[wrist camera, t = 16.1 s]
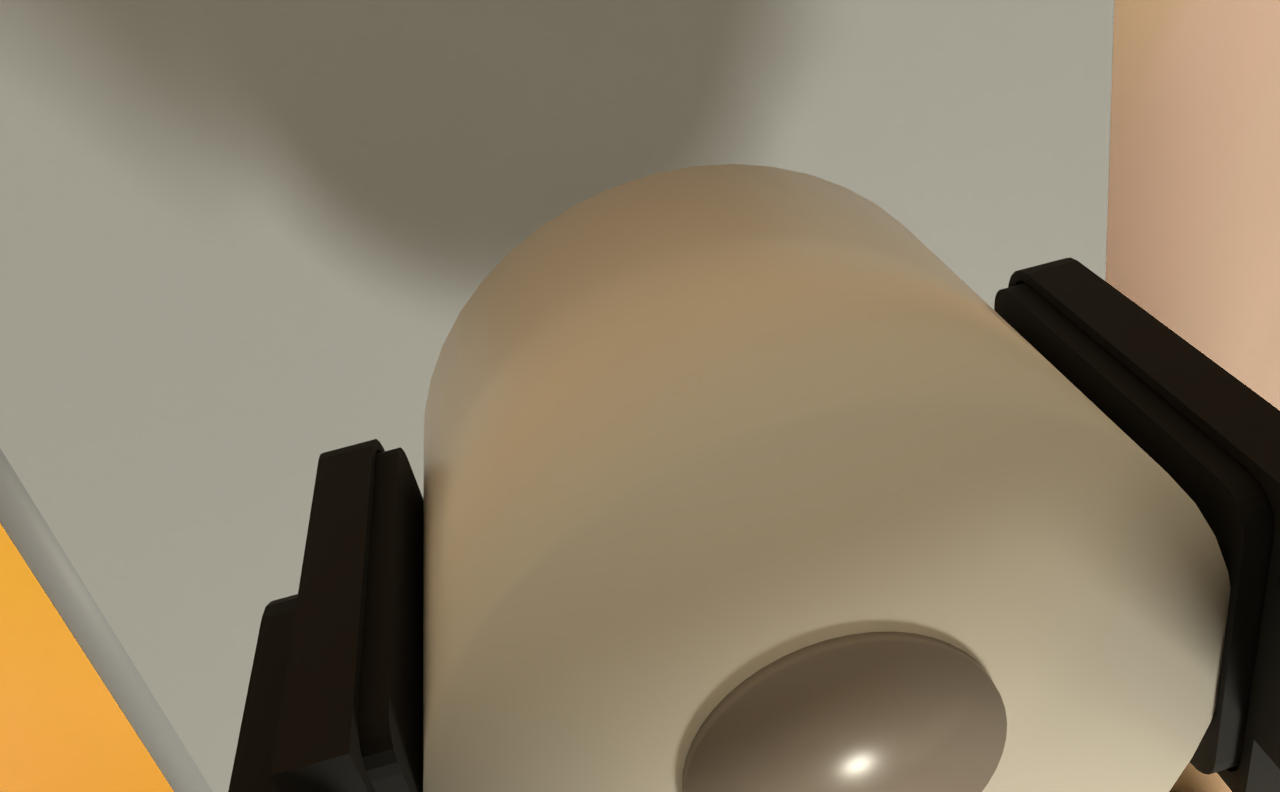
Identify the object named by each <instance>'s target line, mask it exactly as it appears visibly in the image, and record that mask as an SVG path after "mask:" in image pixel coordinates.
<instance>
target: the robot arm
mask: <svg viewBox="0 0 1280 792" xmlns="http://www.w3.org/2000/svg"><path fill="white" fill-rule="evenodd" d="M994 311H996V312H997V313H998V314H999V315H1000V316H1001V317H1002V318H1003V319H1004V320H1005V321H1006V322H1007V323H1008V324H1009V325H1010V326H1011V327H1013V328H1014V329H1015V330H1016V331H1017V332H1018V333H1019V334H1020V335H1021V336H1022V337H1023V338H1024V339H1025V340H1026V341H1027V342H1029V343H1030V344H1031V345H1032V346H1033V347H1034V348H1035V349H1036V350H1037V351H1038V352H1039V353H1040V354H1041V355H1042V356H1043V357H1044V358H1046V359H1047V360H1048V361H1049V362H1050V363H1051V364H1052V365H1053V366H1054V367H1055V368H1056V369H1057V370H1058V371H1059V372H1060V373H1062V374H1063V375H1064V376H1065V377H1066V378H1067V379H1068V380H1069V381H1070V382H1071V383H1072V384H1073V385H1074V386H1075V387H1076V388H1078V389H1079V390H1080V391H1081V392H1082V393H1083V394H1084V395H1085V396H1086V397H1087V398H1088V399H1089V400H1090V401H1091V402H1092V403H1093V404H1095V405H1096V406H1097V407H1098V408H1099V409H1100V410H1101V411H1102V412H1103V413H1104V414H1105V415H1106V416H1107V417H1108V418H1109V419H1111V420H1112V421H1113V422H1114V423H1115V424H1116V425H1117V426H1118V427H1119V428H1120V429H1121V430H1122V431H1123V432H1124V433H1125V434H1127V435H1128V436H1129V437H1130V438H1131V439H1132V440H1133V441H1134V442H1135V443H1136V444H1137V445H1138V446H1139V447H1140V448H1141V449H1142V450H1144V451H1145V452H1146V453H1147V454H1148V455H1149V456H1150V457H1151V458H1152V459H1153V460H1154V461H1155V462H1156V463H1157V464H1158V465H1160V466H1161V467H1162V468H1163V469H1164V470H1165V471H1166V472H1167V473H1168V474H1169V475H1170V476H1171V477H1172V478H1173V480H1174V481H1175V482H1176V483H1177V484H1178V485H1179V486H1180V487H1181V488H1182V489H1183V490H1184V491H1185V492H1186V494H1187V495H1188V496H1189V497H1190V498H1191V499H1192V500H1193V501H1194V502H1195V503H1196V505H1197V507H1198V508H1199V510H1200V512H1201V513H1202V515H1203V517H1204V518H1205V520H1206V522H1207V523H1208V525H1209V526H1210V528H1211V530H1212V531H1213V533H1214V535H1215V536H1216V539H1217V542H1218V545H1219V547H1220V550H1221V553H1222V556H1223V559H1224V562H1225V564H1226V567H1227V570H1228V573H1229V580H1230V587H1231V590H1230V598H1229V606H1228V614H1227V622H1226V630H1225V638H1224V646H1223V654H1222V662H1221V670H1220V678H1219V686H1218V694H1217V702H1216V709H1215V712H1214V715H1213V717H1212V720H1211V723H1210V724H1209V726H1208V728H1207V730H1206V732H1205V734H1204V736H1203V738H1202V740H1201V742H1200V744H1199V746H1198V748H1197V749H1196V751H1195V753H1194V755H1193V757H1192V759H1191V760H1190V762H1191V763H1192V765H1193V766H1194V767H1195V768H1196V769H1198V770H1199V771H1200V772H1202V773H1204V774H1212V773H1215V772H1217V773H1218V774H1219V775H1220V777H1221V778H1222V779H1223V780H1224V782H1225V783H1226V784H1227V785H1228V787H1229V788H1230V789H1231V791H1232V792H1280V411H1279V410H1278V409H1277V408H1275V407H1274V406H1272V405H1271V404H1270V403H1268V402H1267V401H1266V400H1264V399H1263V398H1262V397H1260V396H1259V395H1258V394H1256V393H1255V392H1254V391H1252V390H1251V389H1250V388H1248V387H1247V386H1246V385H1244V384H1243V383H1242V382H1240V381H1239V380H1237V379H1236V378H1235V377H1233V376H1232V375H1231V374H1229V373H1228V372H1227V371H1225V370H1224V369H1223V368H1221V367H1220V366H1219V365H1217V364H1216V363H1215V362H1213V361H1212V360H1211V359H1209V358H1208V357H1207V356H1205V355H1204V354H1203V353H1201V352H1200V351H1198V350H1197V349H1196V348H1194V347H1193V346H1192V345H1190V344H1189V343H1188V342H1186V341H1185V340H1184V339H1182V338H1181V337H1180V336H1178V335H1177V334H1176V333H1174V332H1173V331H1172V330H1170V329H1169V328H1168V327H1166V326H1165V325H1163V324H1162V323H1161V322H1159V321H1158V320H1157V319H1155V318H1154V317H1153V316H1151V315H1150V314H1149V313H1147V312H1146V311H1145V310H1143V309H1142V308H1141V307H1139V306H1138V305H1137V304H1135V303H1134V302H1133V301H1131V300H1130V299H1129V298H1127V297H1126V296H1124V295H1123V294H1122V293H1120V292H1119V291H1118V290H1116V289H1115V288H1114V287H1112V286H1111V285H1110V284H1108V283H1107V282H1106V281H1104V280H1103V279H1102V278H1100V277H1099V276H1098V275H1096V274H1095V273H1094V272H1092V271H1091V270H1089V269H1088V268H1087V267H1085V266H1084V265H1083V264H1081V263H1080V262H1079V261H1077V260H1075V259H1073V258H1071V257H1070V258H1064V259H1060V260H1056V261H1053V262H1049V263H1045V264H1041V265H1037V266H1033V267H1030V268H1026V269H1022V270H1018V271H1015V272H1014V273H1013V274H1012V275H1011V278H1010V281H1009V284H1008V288H1005V289H1001V290H999V291H998V292H997V293H996V297H995V303H994ZM228 792H423V497H422V495H421V492H420V489H419V487H418V484H417V481H416V479H415V476H414V474H413V471H412V468H411V466H410V463H409V461H408V458H407V456H406V454H405V452H404V450H403V449H402V448H401V447H400V448H396V449H392V450H388V451H385V450H384V448H383V446H382V445H381V443H380V441H378V440H377V439H374V440H370V441H366V442H362V443H358V444H354V445H351V446H347V447H343V448H339V449H335V450H332V451H328V452H324V453H322V454H320V457H319V460H318V466H317V473H316V479H315V486H314V493H313V499H312V506H311V512H310V519H309V525H308V532H307V538H306V545H305V551H304V558H303V564H302V571H301V577H300V584H299V590H298V594H296V595H292V596H289V597H285V598H281V599H277V600H274V601H271V602H270V603H269V604H268V605H267V606H266V607H265V610H264V613H263V616H262V619H261V624H260V629H259V634H258V640H257V645H256V650H255V655H254V660H253V666H252V671H251V676H250V681H249V686H248V692H247V697H246V702H245V707H244V712H243V718H242V723H241V728H240V733H239V738H238V744H237V749H236V754H235V759H234V764H233V770H232V775H231V780H230V785H229V790H228Z"/></svg>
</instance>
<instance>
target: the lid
mask: <svg viewBox="0 0 1280 792" xmlns="http://www.w3.org/2000/svg"><path fill="white" fill-rule="evenodd" d="M1113 24H1114V0H0V523H1V525H2V526H3V528H4V529H5V531H6V532H7V534H8V536H9V537H10V539H11V540H12V542H13V543H14V545H15V546H16V548H17V549H18V551H19V553H20V554H21V556H22V557H23V559H24V560H25V562H26V563H27V565H28V566H29V568H30V570H31V571H32V573H33V574H34V576H35V577H36V579H37V580H38V582H39V583H40V585H41V587H42V588H43V590H44V591H45V593H46V594H47V596H48V597H49V599H50V600H51V602H52V604H53V605H54V607H55V608H56V610H57V611H58V613H59V614H60V616H61V617H62V619H63V621H64V622H65V624H66V625H67V627H68V628H69V630H70V631H71V633H72V634H73V636H74V638H75V639H76V641H77V642H78V644H79V645H80V647H81V648H82V650H83V651H84V653H85V655H86V656H87V658H88V659H89V661H90V662H91V664H92V665H93V667H94V668H95V670H96V672H97V673H98V675H99V676H100V678H101V679H102V681H103V682H104V684H105V685H106V687H107V689H108V690H109V692H110V693H111V695H112V696H113V698H114V699H115V701H116V702H117V704H118V706H119V707H120V709H121V710H122V712H123V713H124V715H125V716H126V718H127V719H128V721H129V723H130V724H131V726H132V727H133V729H134V730H135V732H136V733H137V735H138V736H139V738H140V740H141V741H142V743H143V744H144V746H145V747H146V749H147V750H148V752H149V753H150V755H151V757H152V758H153V760H154V761H155V763H156V764H157V766H158V767H159V769H160V770H161V772H162V774H163V775H164V777H165V778H166V780H167V781H168V783H169V784H170V786H171V787H172V789H173V791H174V792H228V790H229V785H230V780H231V775H232V770H233V764H234V759H235V754H236V749H237V744H238V738H239V733H240V728H241V723H242V718H243V712H244V707H245V702H246V697H247V692H248V686H249V681H250V676H251V671H252V666H253V660H254V655H255V650H256V645H257V640H258V634H259V629H260V624H261V619H262V616H263V613H264V610H265V607H266V606H267V605H268V604H269V603H270V602H271V601H274V600H277V599H281V598H285V597H289V596H292V595H296V594H298V590H299V584H300V577H301V571H302V564H303V558H304V551H305V545H306V538H307V532H308V525H309V519H310V512H311V506H312V499H313V493H314V486H315V479H316V473H317V466H318V460H319V457H320V454H322V453H324V452H328V451H332V450H335V449H339V448H343V447H347V446H351V445H354V444H358V443H362V442H366V441H370V440H374V439H377V440H378V441H380V443H381V445H382V446H383V448H384V450H385V451H388V450H392V449H396V448H400V447H401V448H402V449H403V450H404V452H405V454H406V456H407V458H408V461H409V463H410V466H411V468H412V471H413V474H414V476H415V479H416V481H417V484H418V487H419V489H420V492H421V495H422V497H423V452H424V414H425V408H426V402H427V397H428V392H429V386H430V381H431V377H432V375H433V372H434V369H435V366H436V363H437V360H438V357H439V354H440V352H441V349H442V346H443V344H444V342H445V340H446V338H447V336H448V334H449V332H450V330H451V329H452V327H453V325H454V323H455V321H456V319H457V317H458V315H459V313H460V312H461V310H462V309H463V307H464V306H465V305H466V303H467V302H468V300H469V299H470V298H471V296H472V295H473V293H474V292H475V291H476V289H477V288H478V286H479V285H480V284H481V282H482V281H483V280H484V279H485V278H486V277H487V276H488V275H489V273H490V272H491V271H492V270H493V269H494V268H495V267H496V266H497V265H498V264H499V263H500V262H501V261H502V260H503V258H504V257H505V256H506V255H507V254H508V253H509V252H510V251H512V250H513V249H514V248H515V247H516V246H518V245H519V244H520V243H521V242H523V241H524V240H525V239H526V238H527V237H529V236H530V235H531V234H532V233H533V232H535V231H536V230H537V229H538V228H539V227H541V226H542V225H544V224H546V223H547V222H549V221H550V220H552V219H554V218H555V217H557V216H558V215H560V214H561V213H563V212H565V211H566V210H568V209H569V208H571V207H572V206H574V205H576V204H578V203H580V202H582V201H584V200H587V199H589V198H591V197H593V196H595V195H597V194H599V193H601V192H604V191H606V190H608V189H610V188H612V187H615V186H618V185H621V184H624V183H627V182H630V181H633V180H636V179H639V178H642V177H645V176H649V175H652V174H656V173H661V172H667V171H672V170H677V169H682V168H688V167H693V166H708V165H725V164H741V165H755V166H770V167H777V168H781V169H786V170H791V171H796V172H800V173H805V174H810V175H813V176H816V177H818V178H821V179H824V180H827V181H829V182H832V183H835V184H838V185H840V186H843V187H846V188H847V189H849V190H851V191H853V192H855V193H857V194H858V195H860V196H862V197H864V198H866V199H868V200H869V201H871V202H873V203H875V204H877V205H878V206H879V207H881V208H882V209H883V210H884V211H886V212H887V213H888V214H890V215H891V216H892V217H894V218H895V219H896V220H898V221H899V222H900V223H901V224H903V225H904V226H905V227H906V228H907V229H908V230H909V231H910V232H911V233H912V234H913V235H915V236H916V237H917V238H918V239H919V240H920V241H921V242H922V243H923V244H924V245H925V246H926V247H927V248H928V249H929V250H931V251H932V252H933V253H934V254H935V255H936V256H937V257H938V258H939V259H940V260H941V261H942V262H943V263H944V264H945V265H947V266H948V267H949V268H950V269H951V270H952V271H953V272H954V273H955V274H956V275H957V276H958V277H959V278H960V279H961V280H962V281H964V282H965V283H966V284H967V285H968V286H969V287H970V288H971V289H972V290H973V291H974V292H975V293H976V294H977V295H978V296H980V297H981V298H982V299H983V300H984V301H985V302H986V303H987V304H988V305H989V306H990V307H991V308H992V309H993V310H994V303H995V297H996V293H997V292H998V291H999V290H1001V289H1005V288H1008V284H1009V281H1010V278H1011V275H1012V274H1013V273H1014V272H1015V271H1018V270H1022V269H1026V268H1030V267H1033V266H1037V265H1041V264H1045V263H1049V262H1053V261H1056V260H1060V259H1064V258H1070V257H1071V258H1073V259H1075V260H1077V261H1079V262H1080V263H1081V264H1083V265H1084V266H1085V267H1087V268H1088V269H1089V270H1091V271H1092V272H1094V273H1095V274H1096V275H1098V276H1099V277H1100V278H1102V279H1103V280H1104V281H1105V277H1106V246H1107V214H1108V182H1109V151H1110V119H1111V88H1112V56H1113Z"/></svg>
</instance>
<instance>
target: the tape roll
mask: <svg viewBox="0 0 1280 792" xmlns="http://www.w3.org/2000/svg"><path fill="white" fill-rule="evenodd" d="M1230 590H1231V587H1230V580H1229V573H1228V570H1227V567H1226V564H1225V562H1224V559H1223V556H1222V553H1221V550H1220V547H1219V545H1218V542H1217V539H1216V536H1215V535H1214V533H1213V531H1212V530H1211V528H1210V526H1209V525H1208V523H1207V522H1206V520H1205V518H1204V517H1203V515H1202V513H1201V512H1200V510H1199V508H1198V507H1197V505H1196V503H1195V502H1194V501H1193V500H1192V499H1191V498H1190V497H1189V496H1188V495H1187V494H1186V492H1185V491H1184V490H1183V489H1182V488H1181V487H1180V486H1179V485H1178V484H1177V483H1176V482H1175V481H1174V480H1173V478H1172V477H1171V476H1170V475H1169V474H1168V473H1167V472H1166V471H1165V470H1164V469H1163V468H1162V467H1161V466H1160V465H1158V464H1157V463H1156V462H1155V461H1154V460H1153V459H1152V458H1151V457H1150V456H1149V455H1148V454H1147V453H1146V452H1145V451H1144V450H1142V449H1141V448H1140V447H1139V446H1138V445H1137V444H1136V443H1135V442H1134V441H1133V440H1132V439H1131V438H1130V437H1129V436H1128V435H1127V434H1125V433H1124V432H1123V431H1122V430H1121V429H1120V428H1119V427H1118V426H1117V425H1116V424H1115V423H1114V422H1113V421H1112V420H1111V419H1109V418H1108V417H1107V416H1106V415H1105V414H1104V413H1103V412H1102V411H1101V410H1100V409H1099V408H1098V407H1097V406H1096V405H1095V404H1093V403H1092V402H1091V401H1090V400H1089V399H1088V398H1087V397H1086V396H1085V395H1084V394H1083V393H1082V392H1081V391H1080V390H1079V389H1078V388H1076V387H1075V386H1074V385H1073V384H1072V383H1071V382H1070V381H1069V380H1068V379H1067V378H1066V377H1065V376H1064V375H1063V374H1062V373H1060V372H1059V371H1058V370H1057V369H1056V368H1055V367H1054V366H1053V365H1052V364H1051V363H1050V362H1049V361H1048V360H1047V359H1046V358H1044V357H1043V356H1042V355H1041V354H1040V353H1039V352H1038V351H1037V350H1036V349H1035V348H1034V347H1033V346H1032V345H1031V344H1030V343H1029V342H1027V341H1026V340H1025V339H1024V338H1023V337H1022V336H1021V335H1020V334H1019V333H1018V332H1017V331H1016V330H1015V329H1014V328H1013V327H1011V326H1010V325H1009V324H1008V323H1007V322H1006V321H1005V320H1004V319H1003V318H1002V317H1001V316H1000V315H999V314H998V313H997V312H996V311H994V310H993V309H992V308H991V307H990V306H989V305H988V304H987V303H986V302H985V301H984V300H983V299H982V298H981V297H980V296H978V295H977V294H976V293H975V292H974V291H973V290H972V289H971V288H970V287H969V286H968V285H967V284H966V283H965V282H964V281H962V280H961V279H960V278H959V277H958V276H957V275H956V274H955V273H954V272H953V271H952V270H951V269H950V268H949V267H948V266H947V265H945V264H944V263H943V262H942V261H941V260H940V259H939V258H938V257H937V256H936V255H935V254H934V253H933V252H932V251H931V250H929V249H928V248H927V247H926V246H925V245H924V244H923V243H922V242H921V241H920V240H919V239H918V238H917V237H916V236H915V235H913V234H912V233H911V232H910V231H909V230H908V229H907V228H906V227H905V226H904V225H903V224H901V223H900V222H899V221H898V220H896V219H895V218H894V217H892V216H891V215H890V214H888V213H887V212H886V211H884V210H883V209H882V208H881V207H879V206H878V205H877V204H875V203H873V202H871V201H869V200H868V199H866V198H864V197H862V196H860V195H858V194H857V193H855V192H853V191H851V190H849V189H847V188H846V187H843V186H840V185H838V184H835V183H832V182H829V181H827V180H824V179H821V178H818V177H816V176H813V175H810V174H805V173H800V172H796V171H791V170H786V169H781V168H777V167H770V166H755V165H741V164H725V165H708V166H693V167H688V168H682V169H677V170H672V171H667V172H661V173H656V174H652V175H649V176H645V177H642V178H639V179H636V180H633V181H630V182H627V183H624V184H621V185H618V186H615V187H612V188H610V189H608V190H606V191H604V192H601V193H599V194H597V195H595V196H593V197H591V198H589V199H587V200H584V201H582V202H580V203H578V204H576V205H574V206H572V207H571V208H569V209H568V210H566V211H565V212H563V213H561V214H560V215H558V216H557V217H555V218H554V219H552V220H550V221H549V222H547V223H546V224H544V225H542V226H541V227H539V228H538V229H537V230H536V231H535V232H533V233H532V234H531V235H530V236H529V237H527V238H526V239H525V240H524V241H523V242H521V243H520V244H519V245H518V246H516V247H515V248H514V249H513V250H512V251H510V252H509V253H508V254H507V255H506V256H505V257H504V258H503V260H502V261H501V262H500V263H499V264H498V265H497V266H496V267H495V268H494V269H493V270H492V271H491V272H490V273H489V275H488V276H487V277H486V278H485V279H484V280H483V281H482V282H481V284H480V285H479V286H478V288H477V289H476V291H475V292H474V293H473V295H472V296H471V298H470V299H469V300H468V302H467V303H466V305H465V306H464V307H463V309H462V310H461V312H460V313H459V315H458V317H457V319H456V321H455V323H454V325H453V327H452V329H451V330H450V332H449V334H448V336H447V338H446V340H445V342H444V344H443V346H442V349H441V352H440V354H439V357H438V360H437V363H436V366H435V369H434V372H433V375H432V377H431V381H430V386H429V392H428V397H427V402H426V408H425V414H424V452H423V792H1169V791H1170V790H1171V788H1172V787H1173V785H1174V784H1175V782H1176V781H1177V779H1178V778H1179V776H1180V775H1181V773H1182V772H1183V771H1184V769H1185V768H1186V766H1187V765H1188V763H1189V762H1190V760H1191V759H1192V757H1193V755H1194V753H1195V751H1196V749H1197V748H1198V746H1199V744H1200V742H1201V740H1202V738H1203V736H1204V734H1205V732H1206V730H1207V728H1208V726H1209V724H1210V723H1211V720H1212V717H1213V715H1214V712H1215V709H1216V702H1217V694H1218V686H1219V678H1220V670H1221V662H1222V654H1223V646H1224V638H1225V630H1226V622H1227V614H1228V606H1229V598H1230Z"/></svg>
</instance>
